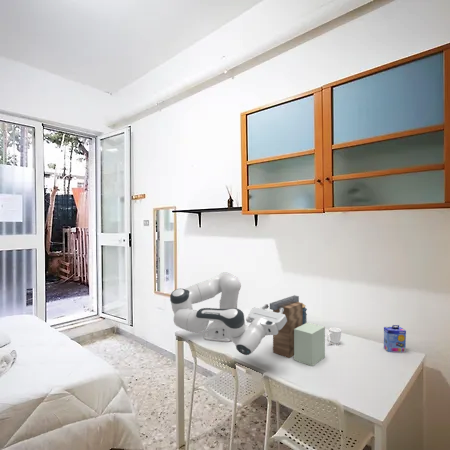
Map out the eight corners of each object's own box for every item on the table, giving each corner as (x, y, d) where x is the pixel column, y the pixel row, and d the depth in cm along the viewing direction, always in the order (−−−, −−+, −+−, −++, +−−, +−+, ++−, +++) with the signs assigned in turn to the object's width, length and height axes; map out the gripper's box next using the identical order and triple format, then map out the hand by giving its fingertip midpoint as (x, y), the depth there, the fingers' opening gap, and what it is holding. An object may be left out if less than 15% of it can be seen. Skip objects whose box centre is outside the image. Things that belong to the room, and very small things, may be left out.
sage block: (312, 366, 147) (312, 333, 147) (294, 360, 154) (294, 328, 154) (324, 357, 157) (324, 326, 157) (307, 351, 164) (307, 322, 164)
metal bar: (274, 310, 153) (274, 304, 153) (269, 309, 155) (269, 303, 155) (298, 301, 170) (298, 296, 170) (294, 300, 172) (294, 295, 172)
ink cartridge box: (387, 352, 163) (387, 325, 163) (383, 348, 169) (383, 322, 169) (406, 352, 163) (406, 326, 163) (401, 348, 168) (401, 322, 168)
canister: (306, 330, 198) (306, 303, 198) (286, 328, 202) (286, 301, 201) (307, 323, 210) (306, 298, 210) (288, 322, 214) (288, 297, 214)
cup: (344, 344, 174) (344, 330, 174) (332, 347, 169) (332, 333, 169) (334, 340, 181) (334, 326, 180) (322, 343, 175) (322, 329, 175)
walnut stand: (289, 358, 156) (288, 308, 156) (273, 352, 163) (273, 304, 163) (302, 349, 166) (302, 303, 166) (287, 344, 173) (287, 300, 173)
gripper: (246, 325, 155) (260, 307, 164) (279, 335, 141) (293, 315, 149) (242, 316, 153) (256, 298, 161) (276, 325, 139) (289, 305, 147)
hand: (274, 306), depth 155 cm, fingers open, 8 cm apart
